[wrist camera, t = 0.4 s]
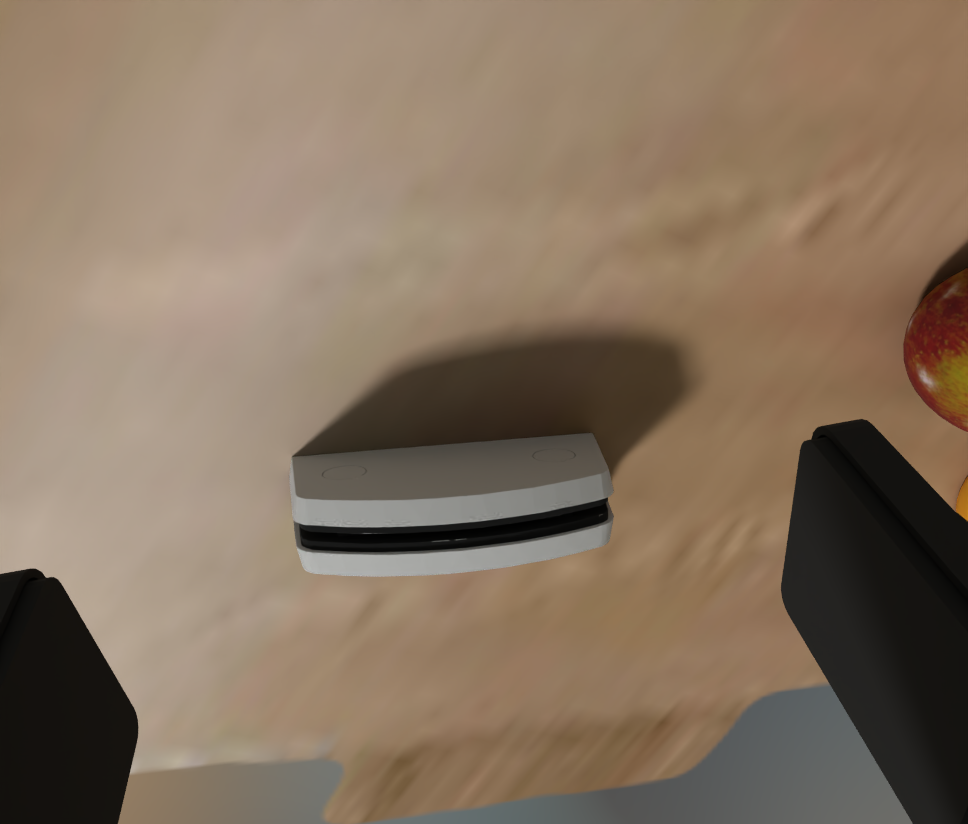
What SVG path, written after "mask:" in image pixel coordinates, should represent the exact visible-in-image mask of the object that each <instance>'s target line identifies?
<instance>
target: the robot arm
mask: <svg viewBox="0 0 968 824" xmlns="http://www.w3.org/2000/svg"><path fill="white" fill-rule="evenodd" d="M781 592H782V598H783V602H784V605H785V608H786V610H787V612H788V614H789V616H790V618H791V620H792V621H793V623H794V625H795V626H796V628H797V630H798V631H799V633H800V635H801V636H802V638H803V640H804V641H805V643H806V645H807V646H808V648H809V650H810V651H811V653H812V655H813V657H814V658H815V660H816V662H817V663H818V665H819V667H820V668H821V670H822V672H823V673H824V675H825V677H826V678H827V680H828V682H829V683H830V685H831V687H832V688H833V690H834V692H835V693H836V695H837V697H838V698H839V700H840V702H841V703H842V705H843V707H844V709H845V710H846V712H847V714H848V715H849V717H850V719H851V720H852V722H853V723H854V725H855V727H856V729H857V730H858V732H859V734H860V735H861V737H862V739H863V740H864V742H865V744H866V745H867V747H868V749H869V750H870V752H871V754H872V755H873V757H874V759H875V761H876V762H877V764H878V766H879V767H880V769H881V771H882V772H883V774H884V776H885V777H886V779H887V781H888V782H889V784H890V786H891V787H892V789H893V791H894V792H895V794H896V796H897V798H898V799H899V801H900V802H901V804H902V806H903V807H904V809H905V811H906V813H907V814H908V816H909V817H910V819H911V821H912V823H913V824H968V521H967V520H966V519H964V518H963V517H962V516H961V515H960V514H958V513H956V512H955V511H954V510H953V509H952V508H951V507H950V506H949V505H948V504H947V503H946V502H945V501H944V500H943V498H942V497H941V496H940V495H939V494H938V493H937V492H936V491H935V490H934V489H933V488H932V487H931V486H930V485H929V484H928V483H927V482H926V481H925V479H924V478H923V477H922V476H921V475H920V474H919V473H918V472H917V471H916V470H915V469H914V468H913V467H912V466H911V465H910V464H909V463H908V462H907V460H906V459H905V458H904V457H903V456H902V455H901V454H900V453H899V452H898V451H897V450H896V449H895V448H894V447H893V446H892V445H891V444H890V443H889V441H888V440H887V439H886V438H885V437H884V436H883V435H882V434H881V433H880V432H879V431H878V430H877V429H876V428H875V427H874V426H873V425H872V424H871V423H870V422H868V421H867V420H863V419H859V420H853V421H848V422H842V423H836V424H831V425H825V426H821V427H818V428H816V430H815V431H814V432H813V436H812V439H811V440H807V441H804V442H803V444H802V445H801V449H800V455H799V462H798V470H797V477H796V484H795V491H794V498H793V505H792V512H791V519H790V526H789V533H788V541H787V548H786V555H785V562H784V569H783V576H782V583H781ZM137 739H138V719H137V715H136V712H135V710H134V707H133V706H132V704H131V702H130V701H129V699H128V697H127V695H126V694H125V692H124V690H123V689H122V687H121V685H120V683H119V682H118V680H117V678H116V677H115V675H114V673H113V671H112V670H111V668H110V666H109V665H108V663H107V661H106V659H105V658H104V656H103V654H102V653H101V651H100V649H99V647H98V646H97V644H96V642H95V641H94V639H93V637H92V635H91V634H90V632H89V630H88V629H87V627H86V625H85V623H84V622H83V620H82V618H81V617H80V615H79V613H78V611H77V610H76V608H75V606H74V605H73V603H72V601H71V600H70V598H69V596H68V594H67V593H66V591H65V589H64V588H63V586H62V584H61V583H60V582H59V580H58V579H56V578H54V577H49V578H46V577H45V576H44V574H43V573H42V572H41V571H39V570H37V569H26V570H21V571H15V572H9V573H4V574H0V824H118V820H119V816H120V812H121V808H122V804H123V799H124V795H125V791H126V786H127V782H128V778H129V774H130V769H131V765H132V761H133V757H134V752H135V748H136V744H137Z"/></svg>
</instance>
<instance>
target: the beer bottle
mask: <svg viewBox="0 0 968 824" xmlns="http://www.w3.org/2000/svg"><path fill="white" fill-rule="evenodd" d="M956 512H957V513H958V514H960V515H961V516H962V517H963V518H964V519H966V520H967V521H968V477H967V478H966V479H965V481H964V483H963V485H962V487H961V489H960V492H959V495H958V498H957V504H956Z"/></svg>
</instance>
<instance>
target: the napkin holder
mask: <svg viewBox="0 0 968 824" xmlns="http://www.w3.org/2000/svg"><path fill="white" fill-rule="evenodd" d="M289 479H290V491H291V503H292V515H293V519H294V531H295V539H296V547H297V550H298V553H299V556H300V559H301V562H302V566H303V568H304V569H305V570H306V571H307V572H311V573H315V574H328V575H344V576H417V575H437V574H452V573H461V572H471V571H480V570H488V569H496V568H504V567H510V566H516V565H522V564H528V563H533V562H538V561H544V560H549V559H554V558H558V557H563V556H567V555H571V554H575V553H579V552H583V551H586V550H590V549H594V548H597V547H601V546H603V545H605V544H607V543H608V542H609V539H610V534H611V529H612V523H613V518H614V516H613V513H612V511H611V508H610V505H609V503H608V497H609V496H611V495H612V494H613V491H614V490H613V485H612V481H611V477H610V473H609V468H608V466H607V464H606V461H605V459H604V457H603V455H602V452H601V450H600V448H599V446H598V443H597V441H596V439H595V437H594V434H593V433H583V434H570V435H558V436H545V437H533V438H520V439H508V440H495V441H483V442H470V443H458V444H445V445H433V446H420V447H408V448H395V449H383V450H370V451H358V452H346V453H333V454H321V455H308V456H296V457H292V459H291V467H290V476H289Z"/></svg>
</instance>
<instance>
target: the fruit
mask: <svg viewBox="0 0 968 824" xmlns="http://www.w3.org/2000/svg"><path fill="white" fill-rule="evenodd" d="M903 345H904V363H905V367H906V371H907V374H908V377H909V379H910V381H911V383H912V385H913V387H914V389H915V391H916V392H917V393H918V395H919V396H920V397H921V398H922V400H923V401H924V402H925V403H926V404H927V405H928V406H929V407H930V408H931V409H932V410H933V411H934V412H936V413H937V414H938V415H939V416H940V417H942V418H943V419H945V420H946V421H948V422H949V423H951V424H952V425H954V426H956V427H958V428H960V429H962V430H964V431H967V432H968V268H966V269H964V270H963V271H961V272H959V273H957V274H955V275H953V276H951V277H950V278H948V279H946V280H945V281H944V282H942V283H941V284H939V285H938V286H936V287H935V288H934V289H933V290H932V291H931V292H930V293H929V294H928V295H927V296H926V297H925V298H924V299H923V300H922V302H921V303H920V305H919V306H918V307H917V309H916V310H915V312H914V313H913V315H912V317H911V319H910V321H909V324H908V326H907V329H906V334H905V339H904V344H903Z"/></svg>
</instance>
